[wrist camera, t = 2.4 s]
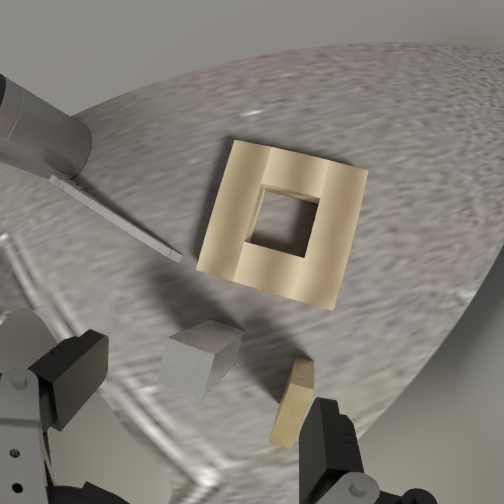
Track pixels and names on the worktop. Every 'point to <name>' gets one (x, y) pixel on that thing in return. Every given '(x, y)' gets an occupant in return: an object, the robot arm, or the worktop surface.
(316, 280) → the socket block
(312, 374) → the light brown wooden block
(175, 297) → the worktop surface
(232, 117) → the worktop surface
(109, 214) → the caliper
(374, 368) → the worktop surface
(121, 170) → the worktop surface
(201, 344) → the square bit
